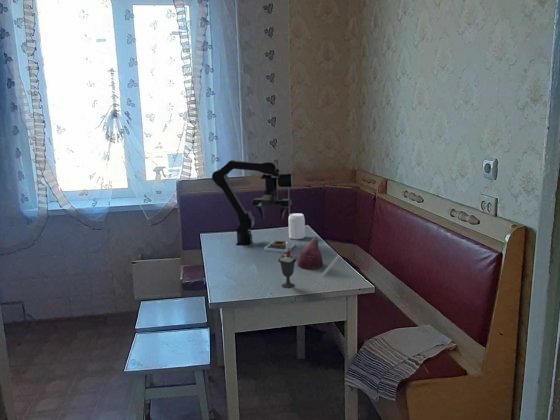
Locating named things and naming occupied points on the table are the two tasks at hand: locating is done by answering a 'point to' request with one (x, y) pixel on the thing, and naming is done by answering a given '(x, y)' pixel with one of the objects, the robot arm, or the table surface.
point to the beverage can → (296, 226)
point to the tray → (277, 249)
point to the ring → (278, 245)
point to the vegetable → (310, 256)
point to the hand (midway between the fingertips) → (272, 219)
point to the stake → (288, 248)
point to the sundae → (287, 268)
